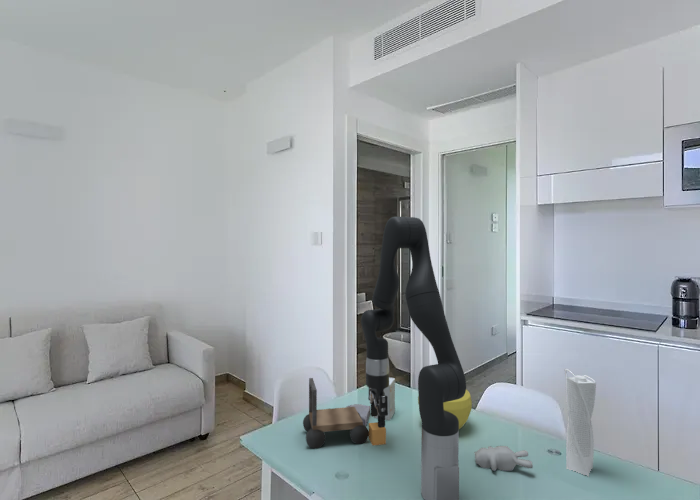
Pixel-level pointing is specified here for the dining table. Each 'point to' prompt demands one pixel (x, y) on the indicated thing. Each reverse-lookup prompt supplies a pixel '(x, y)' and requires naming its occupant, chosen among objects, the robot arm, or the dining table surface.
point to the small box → (390, 398)
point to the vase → (459, 408)
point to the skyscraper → (580, 423)
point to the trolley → (331, 421)
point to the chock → (377, 434)
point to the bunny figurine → (501, 458)
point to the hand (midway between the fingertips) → (377, 421)
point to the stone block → (362, 412)
